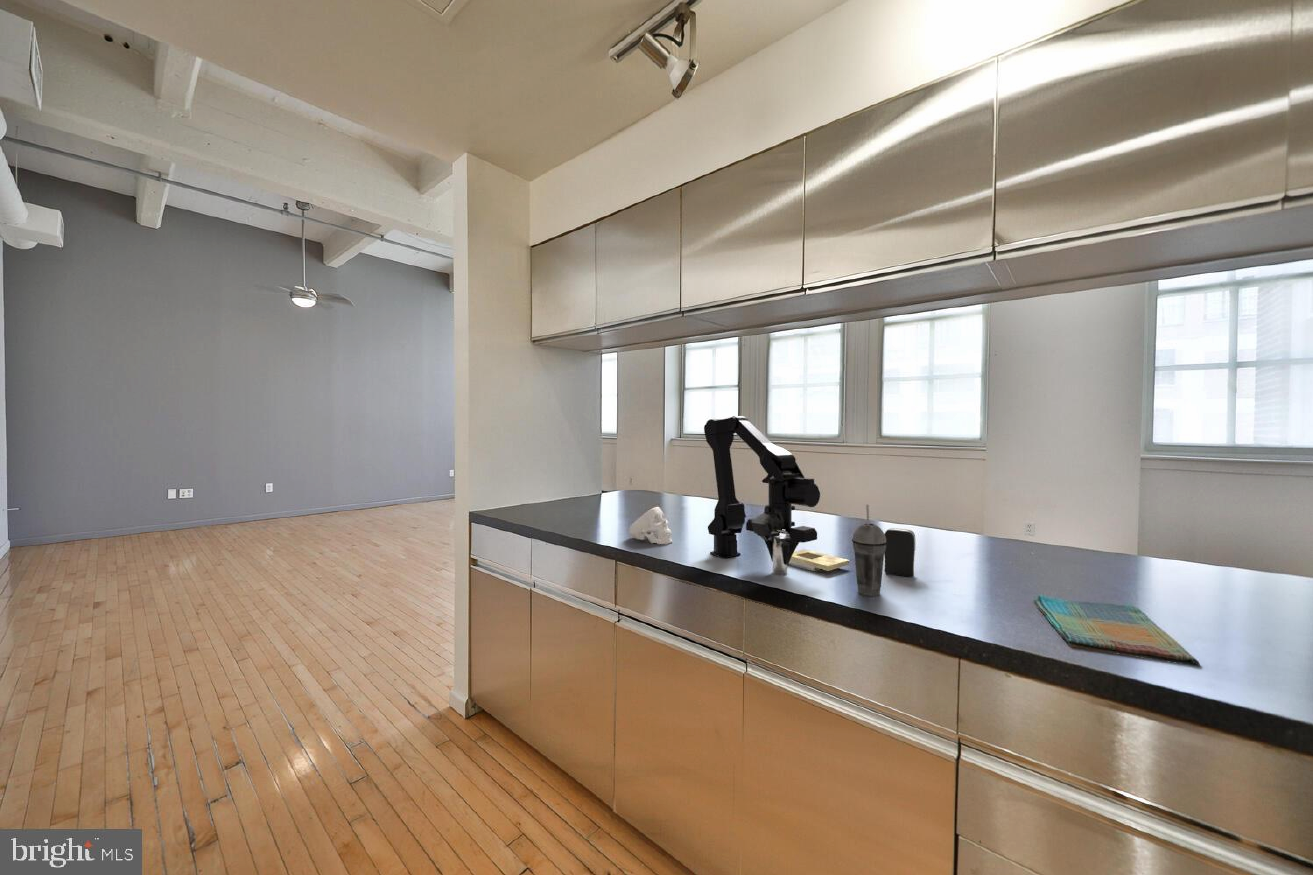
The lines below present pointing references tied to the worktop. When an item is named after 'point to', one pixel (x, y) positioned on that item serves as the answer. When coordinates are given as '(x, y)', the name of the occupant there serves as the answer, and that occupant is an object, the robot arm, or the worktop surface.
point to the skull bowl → (652, 527)
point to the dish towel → (1111, 629)
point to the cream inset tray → (816, 561)
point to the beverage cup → (869, 557)
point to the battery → (900, 552)
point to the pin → (778, 556)
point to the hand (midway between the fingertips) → (779, 562)
